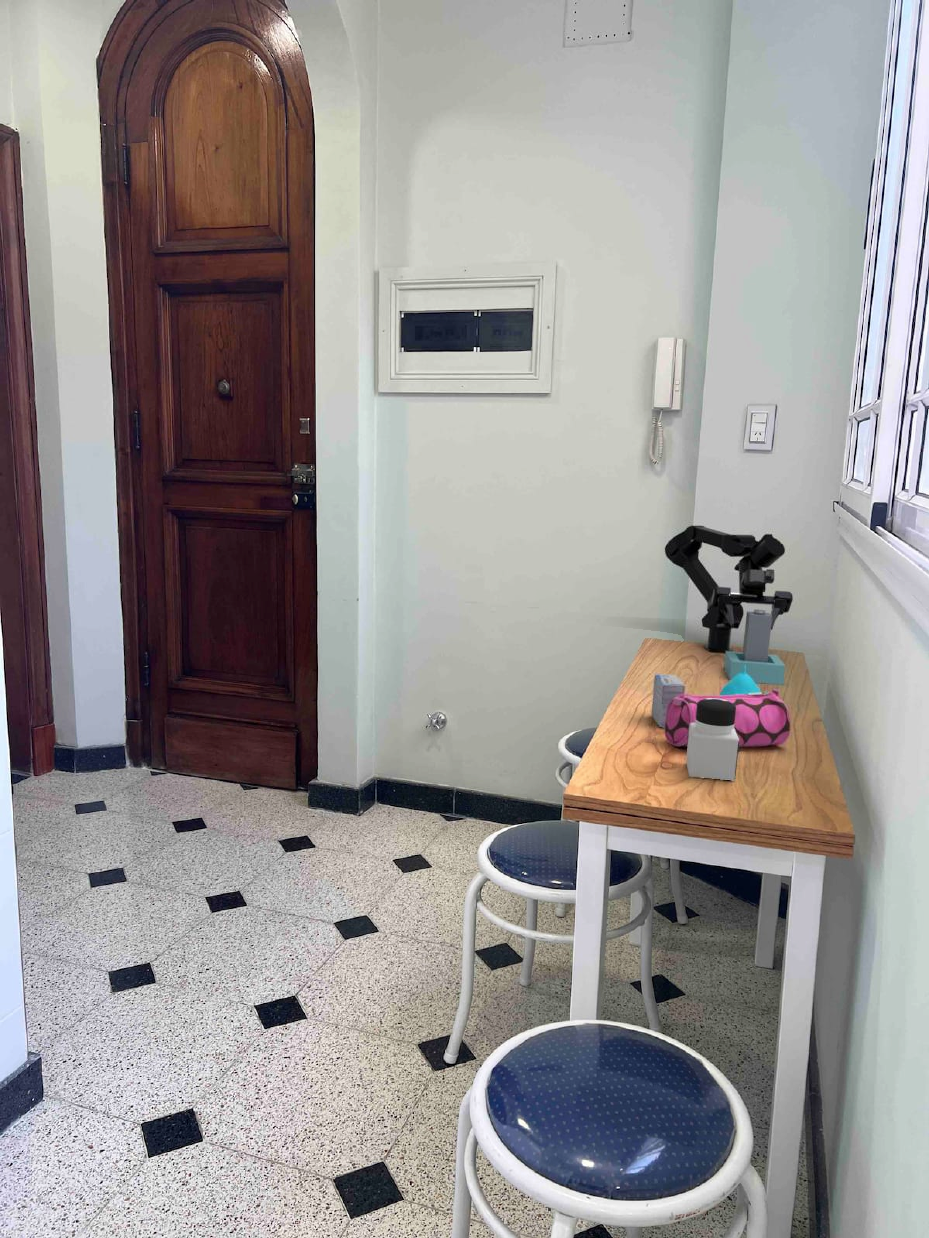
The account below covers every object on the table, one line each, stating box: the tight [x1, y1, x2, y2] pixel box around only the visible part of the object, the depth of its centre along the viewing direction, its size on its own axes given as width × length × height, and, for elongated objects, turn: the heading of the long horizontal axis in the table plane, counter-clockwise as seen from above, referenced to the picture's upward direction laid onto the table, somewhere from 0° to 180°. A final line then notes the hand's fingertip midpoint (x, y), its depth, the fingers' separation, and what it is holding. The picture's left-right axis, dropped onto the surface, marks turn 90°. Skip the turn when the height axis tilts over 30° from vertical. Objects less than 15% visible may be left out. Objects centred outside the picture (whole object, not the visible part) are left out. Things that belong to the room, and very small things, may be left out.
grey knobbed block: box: [742, 609, 772, 663], centre depth 209 cm, size 5×5×13 cm
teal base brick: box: [723, 650, 786, 686], centre depth 210 cm, size 12×12×4 cm
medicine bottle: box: [685, 698, 740, 782], centre depth 142 cm, size 7×7×12 cm
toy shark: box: [719, 665, 762, 695], centre depth 175 cm, size 10×18×11 cm, turn 172°
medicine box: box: [651, 673, 686, 729], centre depth 169 cm, size 8×4×9 cm, turn 179°
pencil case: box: [663, 688, 791, 748], centre depth 157 cm, size 21×10×10 cm, turn 106°
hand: (752, 627), depth 216 cm, fingers open, 9 cm apart
